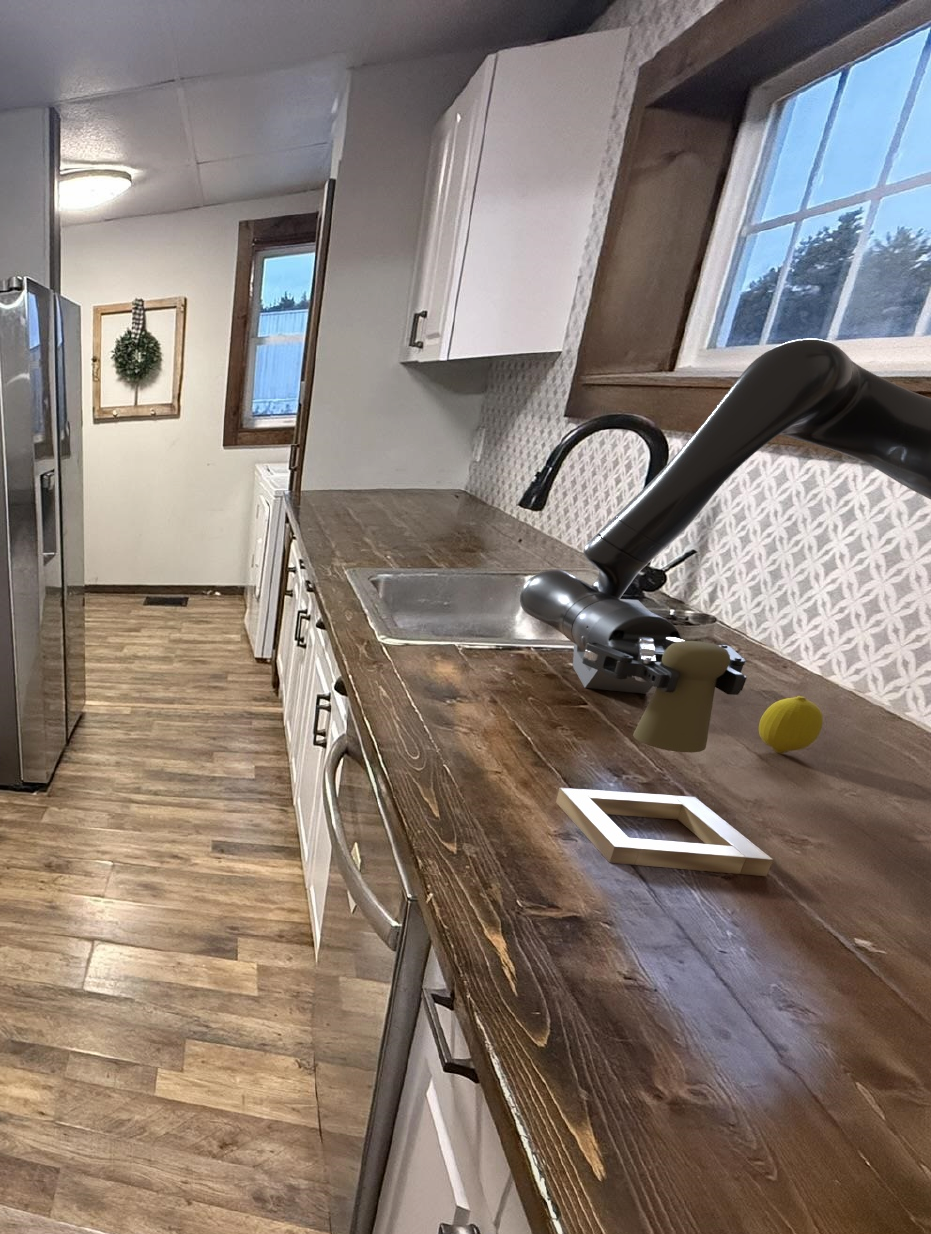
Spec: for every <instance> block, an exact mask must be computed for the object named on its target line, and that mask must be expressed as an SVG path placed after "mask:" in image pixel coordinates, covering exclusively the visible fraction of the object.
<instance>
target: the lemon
mask: <svg viewBox="0 0 931 1234" xmlns="http://www.w3.org/2000/svg"><path fill="white" fill-rule="evenodd" d="M823 720H824V718H823V713H822V710H821V709H820V707H818V705H817V704H815V703H814V702H813V701H810V700H808V699H807V698H806V697H805V696H801V695H797V696H795V697H787V698H783V699H780V700H779V699H778V700H777V701H775V702H773V703H772V704H771V705H769V707H767V708H766V709H765V711H764V712H763V714H762V716H761V718H760V720H759V723H758V724H759V725H758V735H759V737H760V739H761V740H762V741H763V743H765V744H766V745H767V746H769V747H771V748H772V749H773V750H774V752H775V753H777V754H785V753H786V752H787V753H788V752H792V751H799V750H801V749H804V748H807V747H809V746H810V745H812V744H813V743H814V742H815V741H816V740H817V738H818V737H819V736H820V733H821V731H822V728H823Z"/></svg>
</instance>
